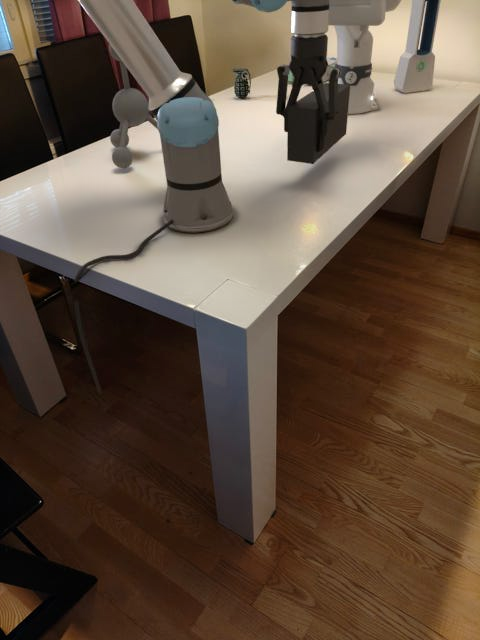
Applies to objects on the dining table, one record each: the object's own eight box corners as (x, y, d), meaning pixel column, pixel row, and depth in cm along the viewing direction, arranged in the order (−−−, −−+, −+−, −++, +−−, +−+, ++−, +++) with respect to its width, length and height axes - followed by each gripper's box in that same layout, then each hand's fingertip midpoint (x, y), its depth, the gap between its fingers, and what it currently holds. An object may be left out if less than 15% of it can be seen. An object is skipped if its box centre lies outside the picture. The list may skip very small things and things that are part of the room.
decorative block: (308, 54, 216) (349, 57, 207) (307, 70, 220) (348, 74, 211) (277, 65, 200) (320, 69, 191) (277, 82, 204) (319, 87, 195)
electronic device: (402, 93, 181) (416, -3, 162) (392, 89, 186) (404, -5, 168) (432, 89, 183) (449, -6, 165) (421, 85, 189) (436, -8, 170)
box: (313, 164, 111) (315, 109, 104) (287, 160, 114) (287, 106, 107) (346, 134, 127) (350, 84, 120) (322, 131, 130) (325, 82, 123)
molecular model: (194, 159, 136) (181, 36, 117) (116, 174, 130) (89, 47, 112) (172, 136, 153) (158, 26, 135) (102, 148, 148) (77, 35, 129)
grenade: (232, 99, 186) (230, 70, 180) (236, 95, 190) (234, 67, 184) (249, 99, 184) (248, 70, 178) (252, 96, 189) (251, 67, 182)
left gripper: (361, 32, 98) (351, 147, 112) (273, 30, 106) (274, 138, 120) (349, 38, 93) (340, 158, 107) (258, 36, 101) (260, 148, 115)
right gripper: (393, -25, 108) (385, 46, 116) (307, -22, 117) (305, 44, 125) (386, -24, 104) (377, 50, 112) (297, -21, 112) (295, 47, 120)
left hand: (305, 147), depth 113 cm, fingers closed on box, 6 cm apart
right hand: (338, 47), depth 118 cm, fingers open, 8 cm apart
